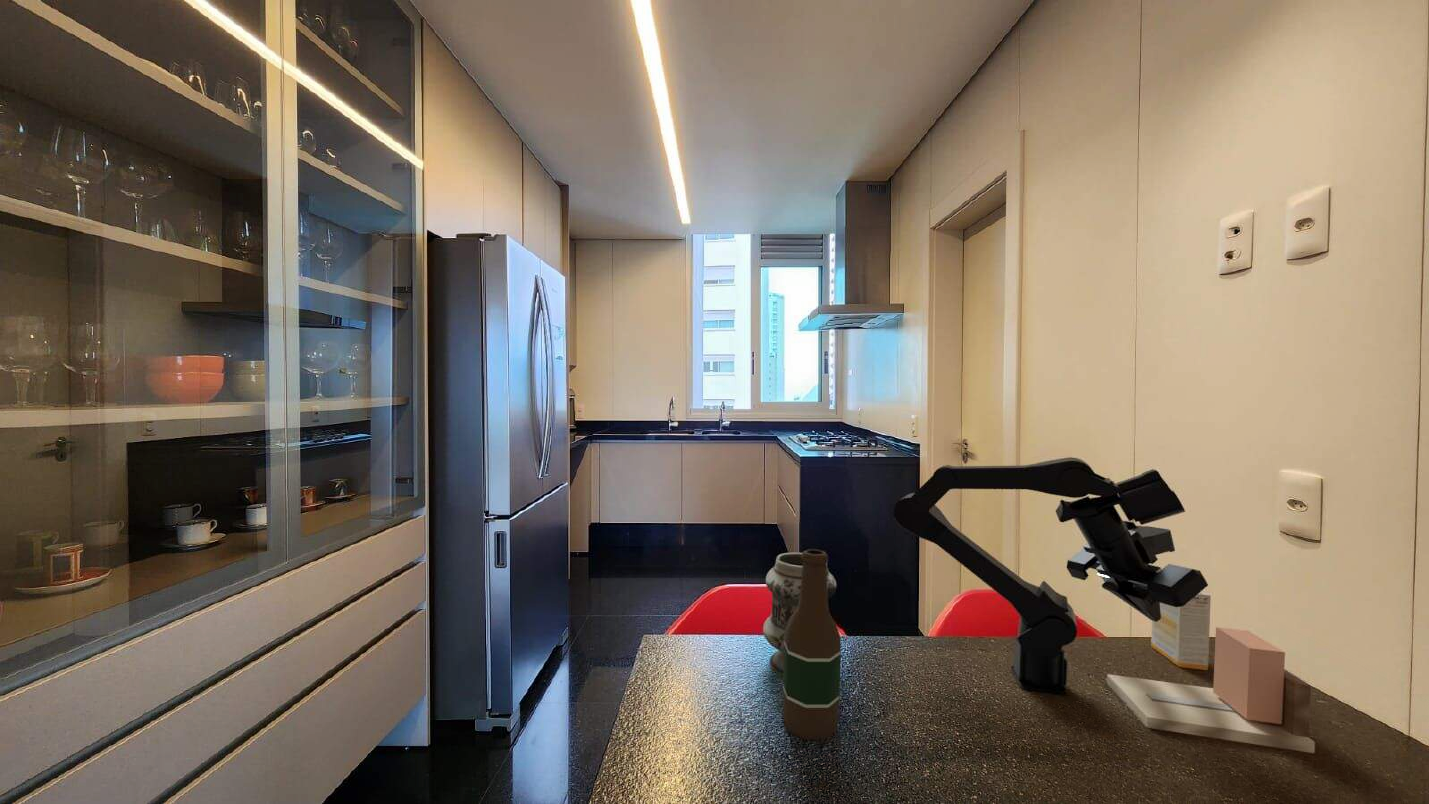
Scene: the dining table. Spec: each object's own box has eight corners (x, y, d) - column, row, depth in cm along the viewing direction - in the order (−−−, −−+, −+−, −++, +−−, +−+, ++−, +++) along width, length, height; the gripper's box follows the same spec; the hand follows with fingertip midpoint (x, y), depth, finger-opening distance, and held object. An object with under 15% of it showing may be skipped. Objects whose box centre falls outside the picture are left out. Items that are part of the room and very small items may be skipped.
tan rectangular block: (1246, 719, 74) (1249, 648, 74) (1213, 692, 81) (1215, 627, 81) (1281, 724, 73) (1284, 652, 73) (1245, 696, 80) (1247, 630, 80)
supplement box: (1210, 671, 92) (1213, 595, 91) (1177, 667, 93) (1181, 592, 92) (1178, 649, 100) (1181, 579, 100) (1149, 646, 101) (1152, 577, 101)
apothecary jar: (825, 648, 96) (828, 549, 96) (843, 685, 84) (847, 571, 84) (758, 647, 96) (761, 547, 95) (767, 684, 84) (770, 570, 83)
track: (1146, 727, 75) (1149, 667, 75) (1106, 683, 87) (1108, 631, 87) (1314, 753, 70) (1317, 689, 70) (1248, 702, 82) (1250, 648, 82)
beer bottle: (841, 715, 76) (846, 547, 76) (835, 748, 69) (840, 563, 68) (787, 703, 79) (792, 541, 78) (775, 734, 71) (781, 556, 71)
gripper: (1205, 512, 75) (1261, 607, 75) (1091, 499, 93) (1136, 575, 93) (1150, 557, 73) (1207, 654, 73) (1044, 534, 91) (1090, 612, 91)
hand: (1156, 619), depth 83 cm, fingers closed
